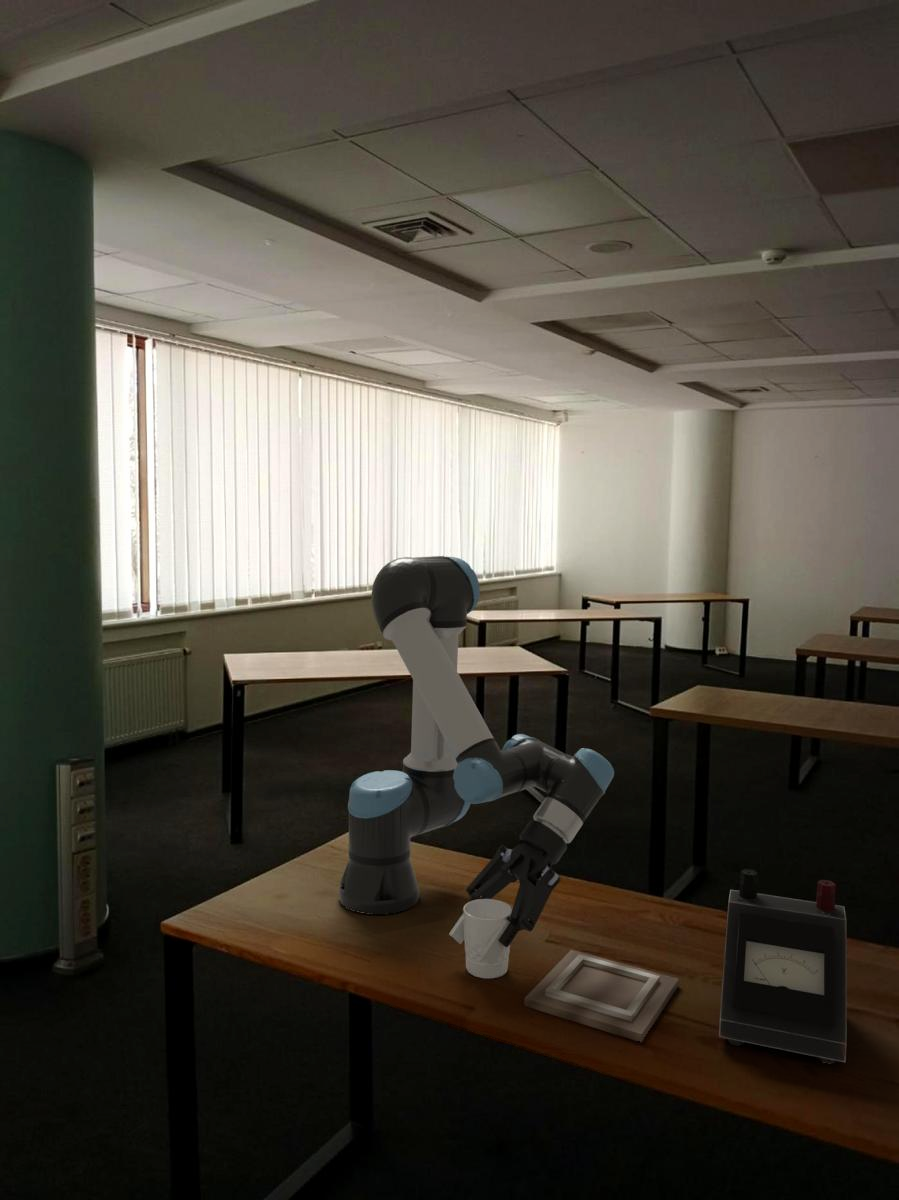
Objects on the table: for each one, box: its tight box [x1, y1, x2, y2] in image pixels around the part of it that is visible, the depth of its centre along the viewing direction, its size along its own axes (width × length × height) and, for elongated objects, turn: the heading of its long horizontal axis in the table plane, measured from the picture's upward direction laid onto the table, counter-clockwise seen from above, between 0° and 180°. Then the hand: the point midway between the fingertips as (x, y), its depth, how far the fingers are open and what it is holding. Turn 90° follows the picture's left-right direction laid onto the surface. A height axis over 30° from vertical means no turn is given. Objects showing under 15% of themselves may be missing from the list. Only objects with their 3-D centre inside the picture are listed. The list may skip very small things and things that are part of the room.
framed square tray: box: [523, 949, 680, 1043], centre depth 139 cm, size 18×18×2 cm
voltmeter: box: [718, 868, 847, 1063], centre depth 130 cm, size 16×16×20 cm
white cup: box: [462, 898, 513, 979], centre depth 146 cm, size 8×8×10 cm
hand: (470, 949), depth 144 cm, fingers closed on white cup, 8 cm apart
